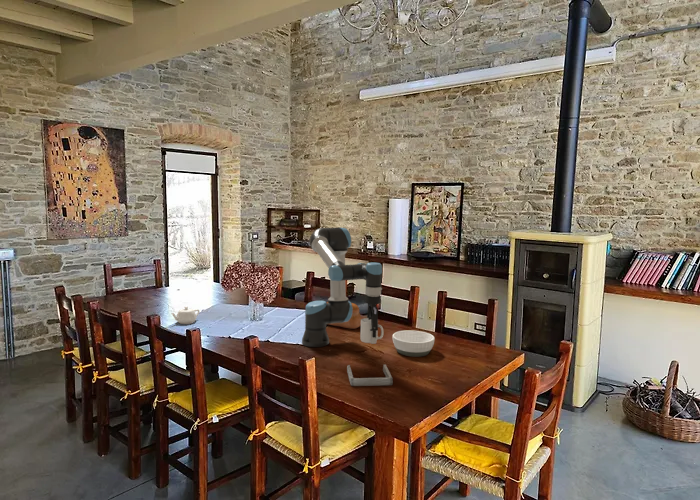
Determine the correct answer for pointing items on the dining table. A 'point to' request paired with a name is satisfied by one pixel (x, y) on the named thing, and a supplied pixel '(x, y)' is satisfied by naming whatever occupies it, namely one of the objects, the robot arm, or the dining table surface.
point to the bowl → (413, 343)
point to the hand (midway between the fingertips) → (371, 340)
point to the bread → (351, 319)
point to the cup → (368, 330)
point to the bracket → (370, 379)
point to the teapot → (186, 316)
